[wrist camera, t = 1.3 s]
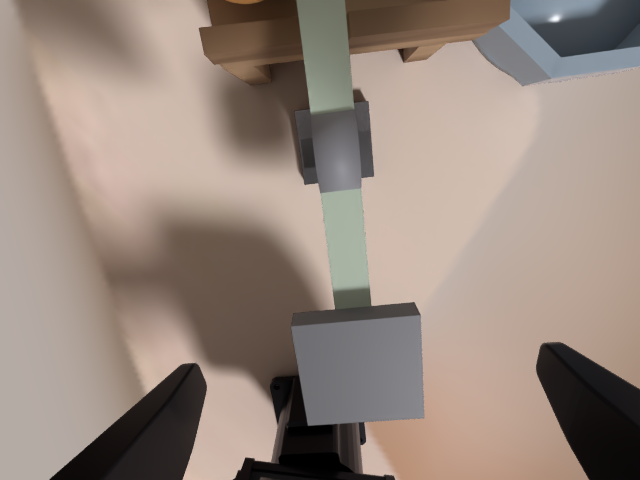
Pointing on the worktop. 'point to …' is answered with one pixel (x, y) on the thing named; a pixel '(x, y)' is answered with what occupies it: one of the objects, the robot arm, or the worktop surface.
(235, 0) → the ball
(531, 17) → the bowl
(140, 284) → the worktop surface
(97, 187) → the worktop surface
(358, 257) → the lever
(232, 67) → the ramp
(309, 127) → the lever post
